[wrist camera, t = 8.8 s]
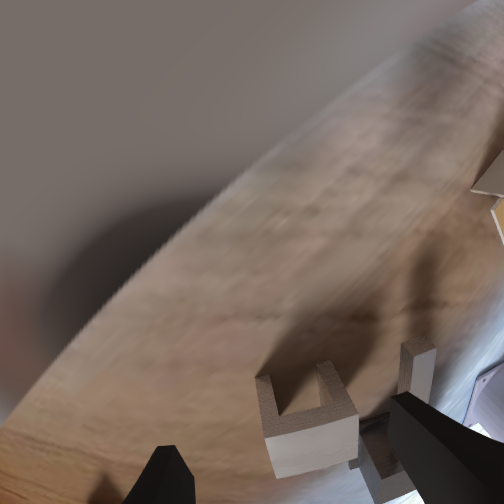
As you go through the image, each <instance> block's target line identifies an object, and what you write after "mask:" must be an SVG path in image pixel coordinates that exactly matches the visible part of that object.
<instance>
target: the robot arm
mask: <svg viewBox="0 0 504 504" xmlns="http://www.w3.org/2000/svg"><path fill="white" fill-rule="evenodd" d="M477 423H479V424H480V425H481V426H482V427H483V428H484V430H485V431H486V432H487V433H488V434H489V435H490V436H491V438H492V439H491V438H489V437H486V436H484V435H482V434H480V433H478V432H476V431H473V430H471V429H469V428H470V427H472V426H473V425H475V424H477ZM387 435H388V437H389V440H390V442H391V445H392V447H393V449H394V451H395V454H396V456H397V458H398V460H399V461H400V463H401V465H402V466H403V468H404V470H405V471H406V473H407V475H408V476H409V478H410V479H411V481H412V483H413V484H414V486H415V488H416V489H417V491H418V493H419V494H420V496H421V498H422V499H423V501H424V503H425V504H504V362H503V363H502V364H500V365H498V366H497V367H495V368H493V369H492V370H490V371H488V372H487V373H485V374H483V375H481V376H480V377H478V379H477V380H476V383H475V387H474V390H473V394H472V397H471V401H470V404H469V407H468V411H467V414H466V417H465V420H464V423H463V425H462V424H460V423H458V422H456V421H455V420H453V419H451V418H449V417H448V416H446V415H444V414H443V413H441V412H439V411H438V410H436V409H435V408H433V407H432V406H430V405H428V404H427V403H425V402H424V401H422V400H421V399H419V398H418V397H416V396H415V395H413V394H412V393H410V392H408V391H405V392H403V393H400V394H398V395H395V396H392V397H391V406H390V416H389V424H388V433H387ZM122 504H196V498H195V482H194V476H193V475H192V473H191V472H190V470H189V468H188V467H187V465H186V463H185V462H184V460H183V458H182V457H181V455H180V453H179V452H178V450H177V448H176V446H175V445H169V446H157V448H156V449H155V451H154V453H153V454H152V456H151V458H150V460H149V461H148V463H147V465H146V466H145V468H144V470H143V472H142V473H141V475H140V477H139V478H138V480H137V481H136V483H135V485H134V486H133V488H132V489H131V491H130V492H129V494H128V495H127V497H126V498H125V500H124V501H123V503H122Z"/></svg>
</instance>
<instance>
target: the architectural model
mask: <svg viewBox="0 0 504 504" xmlns="http://www.w3.org/2000/svg"><path fill="white" fill-rule="evenodd" d="M471 192H475V193H481V194H487V195H493V196H498V197H500V198H499V199H498V200H497V202H496V203H495V204H494V206H493V207H492V208H491V209H490V210H491V213H492V215H493V218H494V220H495V223H496V225H497V228H498V231H499V233H500V236H501V239H502V242H503V245H504V149H503V150H502V151H501V153H500V154H499V155H498V157H497V158H496V159H495V160H494V162H493V163H492V164H491V165H490V167H489V168H488V169H487V170H486V172H485V173H484V174H483V175H482V176H481V178H480V179H479V180H478V181H477V182H476V184H475V185H474V186H473V187H472V188H471Z"/></svg>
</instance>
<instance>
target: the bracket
mask: <svg viewBox="0 0 504 504" xmlns="http://www.w3.org/2000/svg"><path fill="white" fill-rule="evenodd" d="M316 369H317V377H318V386H319V395H320V404H321V406H319V407H316V408H312V409H308V410H304V411H300V412H296V413H292V414H288V415H283V416H279V414H278V410H277V406H276V401H275V397H274V392H273V388H272V384H271V379H270V375H265V376H260V377H255V382H256V389H257V395H258V402H259V408H260V414H261V421H262V427H263V433H264V439H265V442H266V446H267V449H268V452H269V456H270V459H271V462H272V465H273V469H274V472H275V475H276V478H277V479H278V478H283V477H288V476H292V475H297V474H301V473H305V472H309V471H313V470H317V469H321V468H325V467H328V466H332V465H335V464H339V463H342V462H345V461H348V460H352V459H355V458H358V435H359V413H358V411H357V409H356V407H355V406H354V404H353V402H352V400H351V398H350V396H349V394H348V392H347V390H346V389H345V387H344V385H343V383H342V381H341V379H340V377H339V375H338V374H337V372H336V370H335V368H334V366H333V364H332V362H331V361H330V360H326V361H323V362H319V363H316Z"/></svg>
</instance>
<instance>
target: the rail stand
mask: <svg viewBox="0 0 504 504" xmlns="http://www.w3.org/2000/svg"><path fill="white" fill-rule="evenodd" d="M436 350H437V347H436V346H435V345H433V344H432V343H431V342H430V341H429V340H428V339H427V338H426V337H425V336H424V335H421V336H419V337H416V338H413V339H411V340H408V341H405V342H403V343H401V352H400V369H399V382H398V393H397V395H398V394H400V393H403V392H405V391H408V392H410V393H412V394H413V395H415V396H416V397H418V398H419V399H421V400H422V401H424V402H425V403H427V404H428V401H429V396H430V391H431V385H432V379H433V372H434V366H435V358H436ZM389 416H390V412H387V413H385V414H382V415H379V416H377V417H374V418H371V419H368V420H365V421H362V422H359V435H358V458H355V459H352V460H349V468H350V470H351V469H355V468H358V467H359V468H360V471H361V473H362V475H363V478H364V480H365V482H366V484H367V487H368V489H369V491H370V494H371V496H372V498H373V501H374V503H375V504H383V503H385V502H388V501H390V500H393V499H395V498H398V497H400V496H403V495H405V494H407V493H409V492H412V491H414V490H416V488H415V486H414V484H413V483H412V481H411V479H410V478H409V476H408V475H407V473H406V471H405V470H404V468H403V466H402V465H401V463H400V461H399V460H398V458H397V456H396V454H395V451H394V449H393V447H392V445H391V442H390V440H389V437H388V435H387V433H388V424H389Z"/></svg>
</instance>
